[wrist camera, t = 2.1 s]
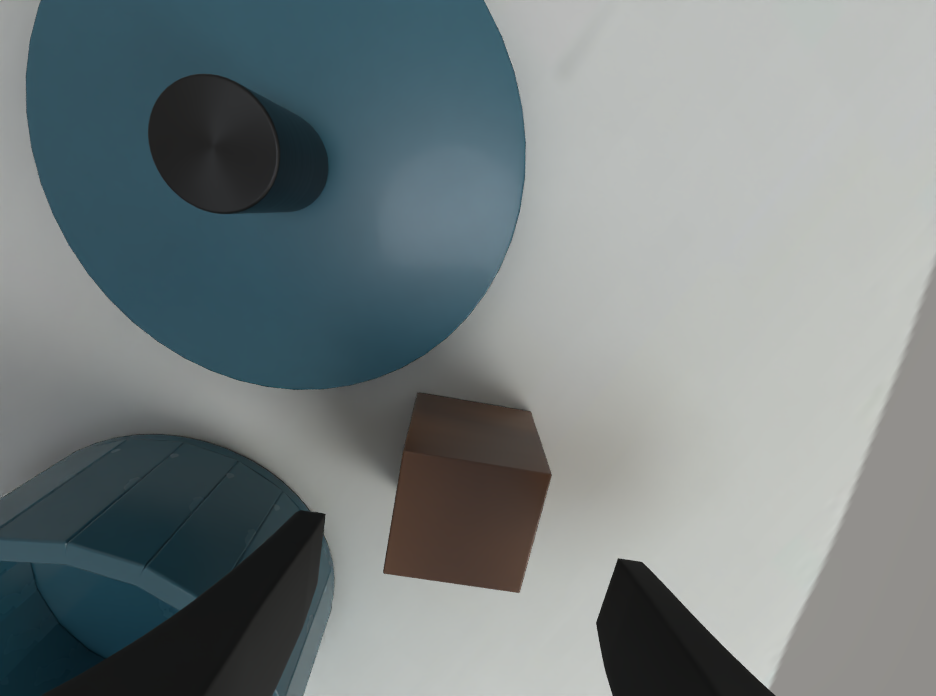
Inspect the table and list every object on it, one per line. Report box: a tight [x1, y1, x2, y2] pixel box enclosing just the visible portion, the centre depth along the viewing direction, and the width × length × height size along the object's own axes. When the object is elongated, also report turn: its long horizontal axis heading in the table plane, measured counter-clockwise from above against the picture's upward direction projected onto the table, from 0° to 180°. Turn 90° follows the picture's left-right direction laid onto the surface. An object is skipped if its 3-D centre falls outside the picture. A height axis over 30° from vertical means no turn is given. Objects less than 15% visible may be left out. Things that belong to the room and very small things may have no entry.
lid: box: [26, 0, 526, 390], centre depth 11 cm, size 13×13×5 cm
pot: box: [0, 434, 334, 696], centre depth 15 cm, size 12×12×5 cm
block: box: [383, 393, 552, 593], centre depth 15 cm, size 4×4×4 cm
